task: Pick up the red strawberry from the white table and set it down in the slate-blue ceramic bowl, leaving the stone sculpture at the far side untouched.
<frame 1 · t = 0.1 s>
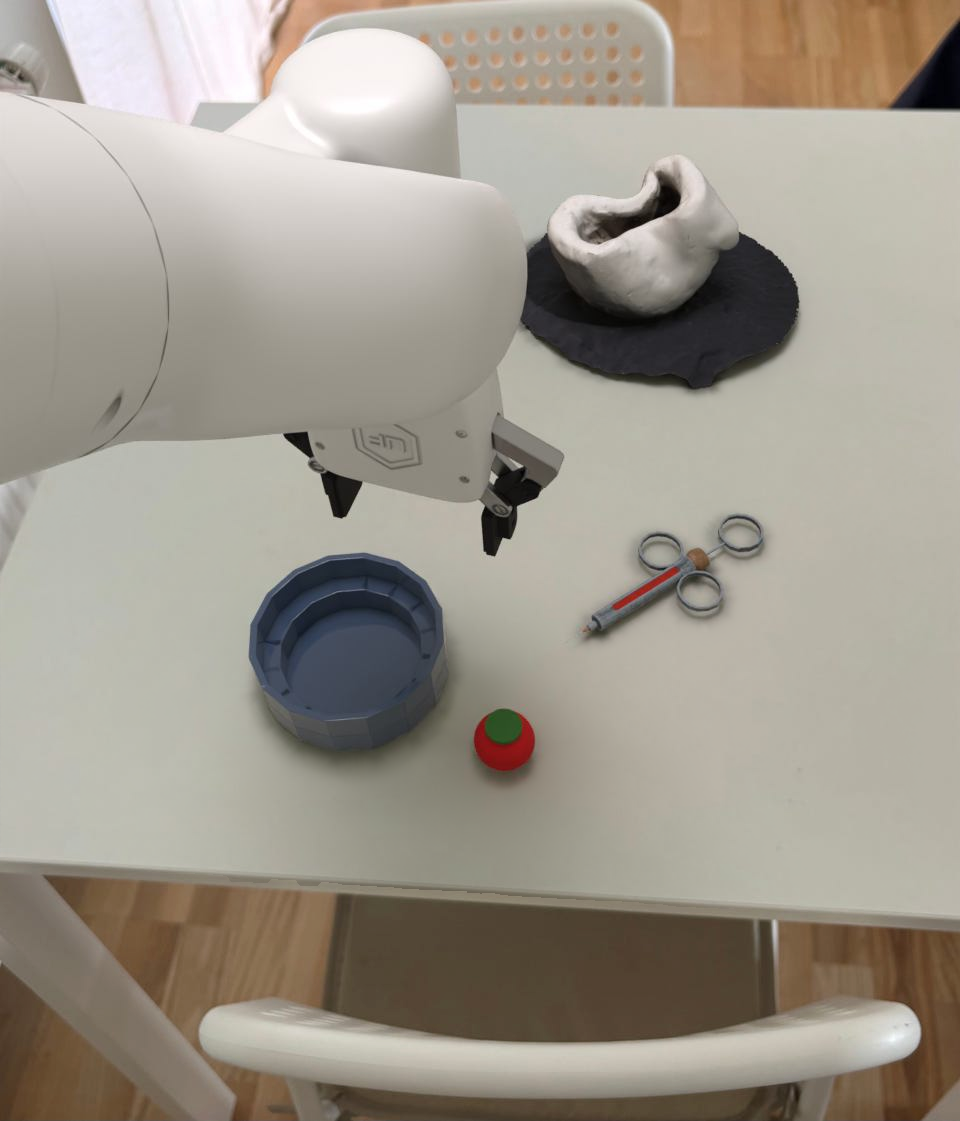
hand: (421, 518, 67), 14 cm above the table, tool pointing down, fingers open, 9 cm apart
syringe: (662, 588, 81), on the table
sculpture: (651, 298, 98), on the table
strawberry: (505, 753, 74), on the table
bowl: (356, 669, 78), on the table
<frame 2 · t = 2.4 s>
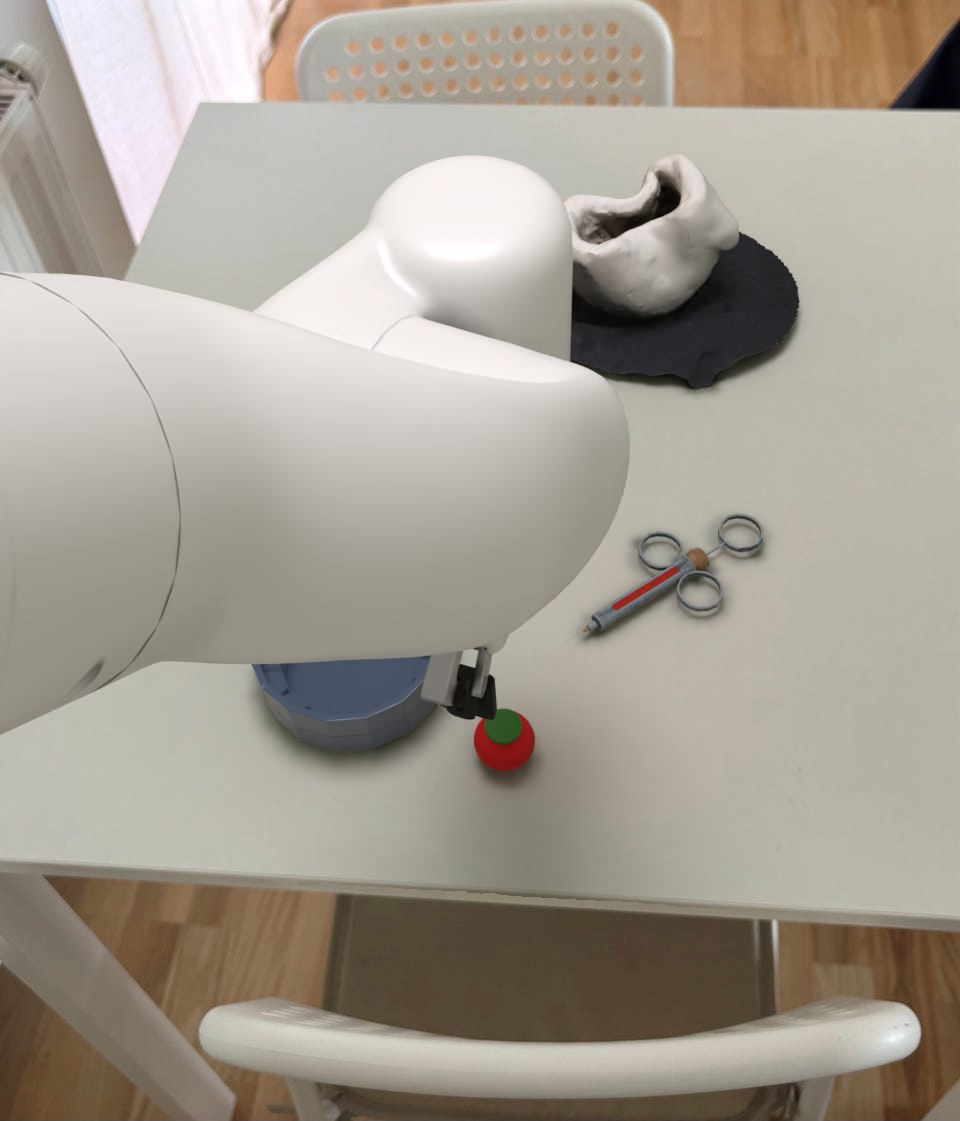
hand: (495, 634, 62), 14 cm above the table, tool pointing down, fingers open, 9 cm apart
nothing on the table moved.
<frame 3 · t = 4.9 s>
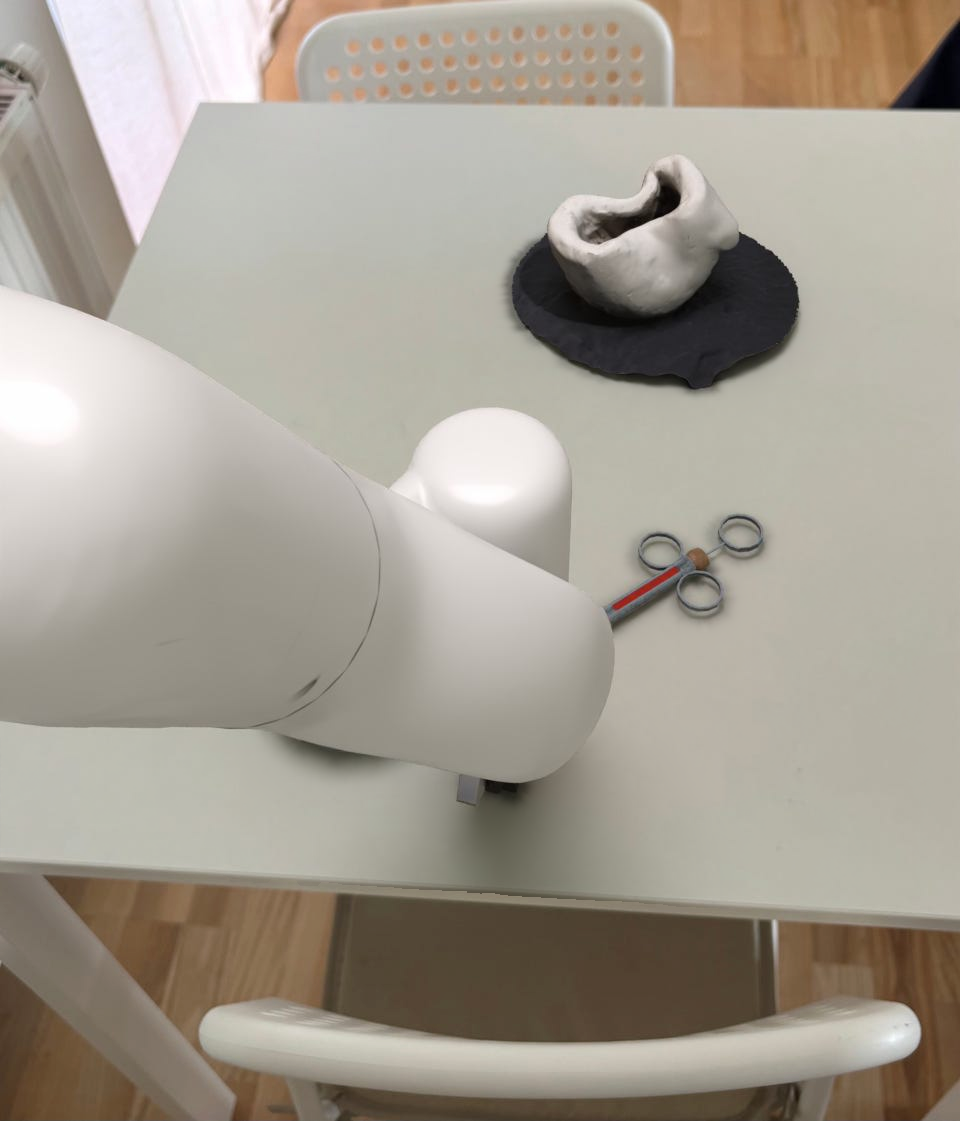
hand: (505, 751, 73), 0 cm above the table, tool pointing down, fingers closed on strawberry, 3 cm apart
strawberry: (505, 753, 74), on the table, touching gripper
everything else where it was.
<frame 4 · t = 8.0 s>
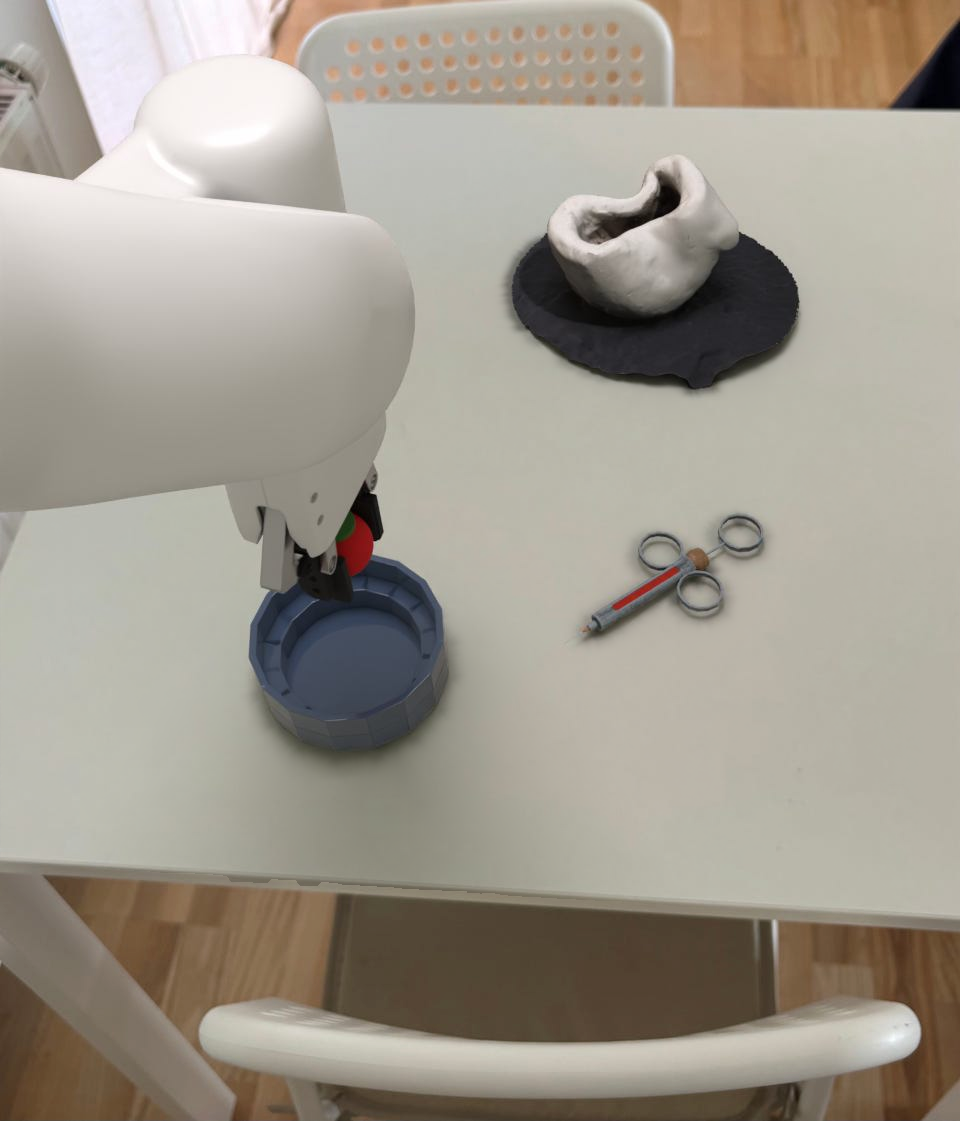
hand: (343, 560, 66), 14 cm above the table, tool pointing down, fingers closed on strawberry, 3 cm apart
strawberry: (344, 563, 66), point 14 cm above the table, touching gripper
everything else where it was.
when the fingers open (1 cm above the table, at t = 12.0 s): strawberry stays where it is, resting on bowl.
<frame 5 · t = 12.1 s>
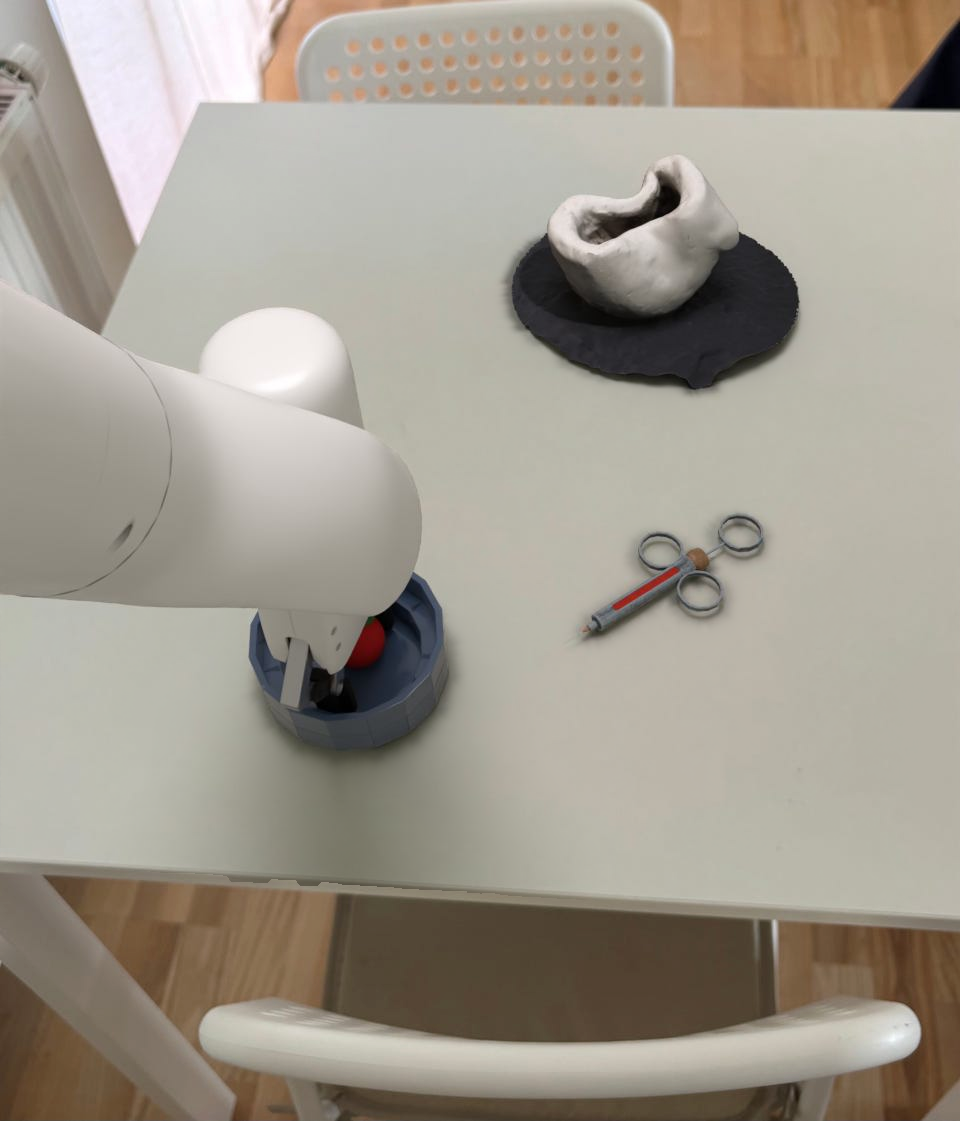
hand: (354, 661, 77), 1 cm above the table, tool pointing down, fingers open, 6 cm apart
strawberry: (355, 662, 77), point 1 cm above the table, tilted 25°, touching bowl
everything else where it was.
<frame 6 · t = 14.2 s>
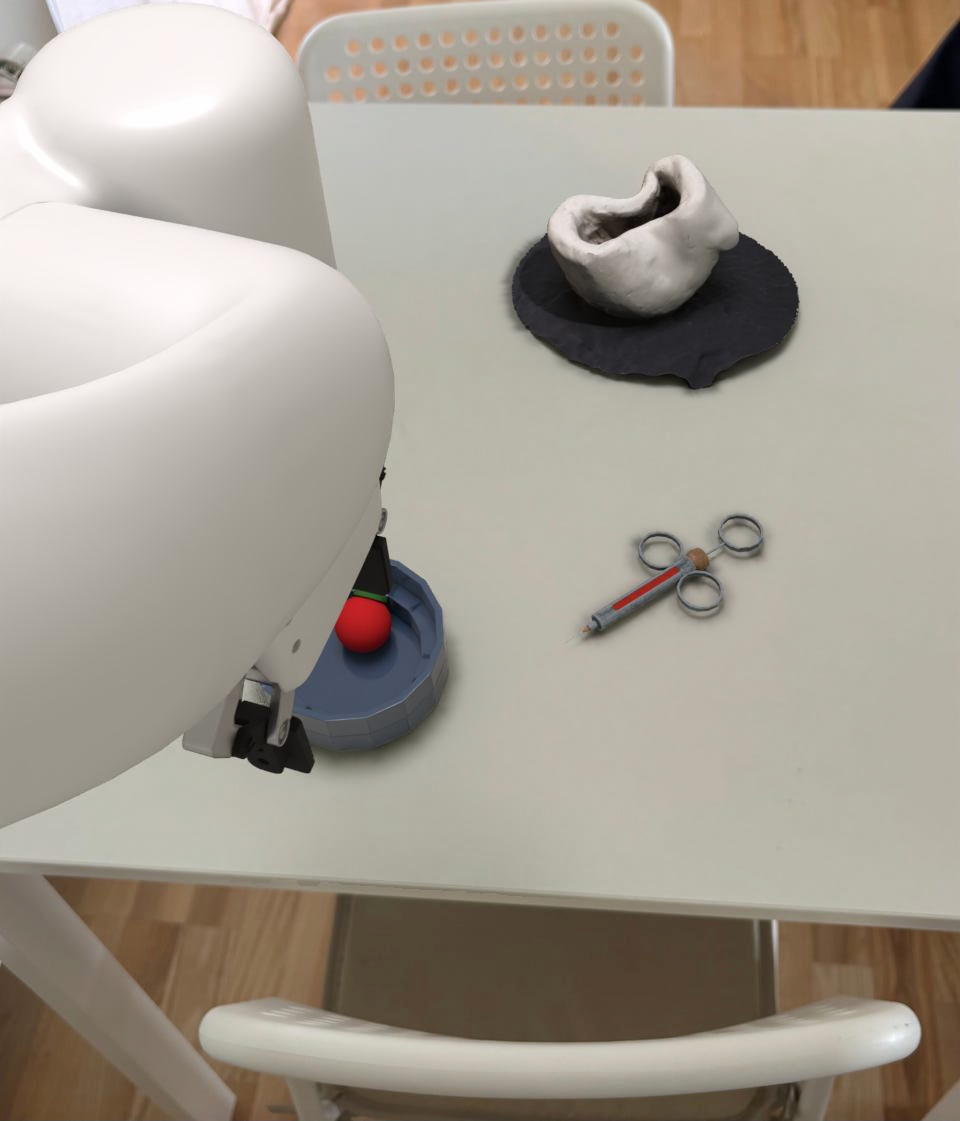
hand: (323, 667, 51), 24 cm above the table, tool pointing down, fingers open, 9 cm apart
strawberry: (355, 651, 77), point 2 cm above the table, tilted 63°, touching bowl
everything else where it was.
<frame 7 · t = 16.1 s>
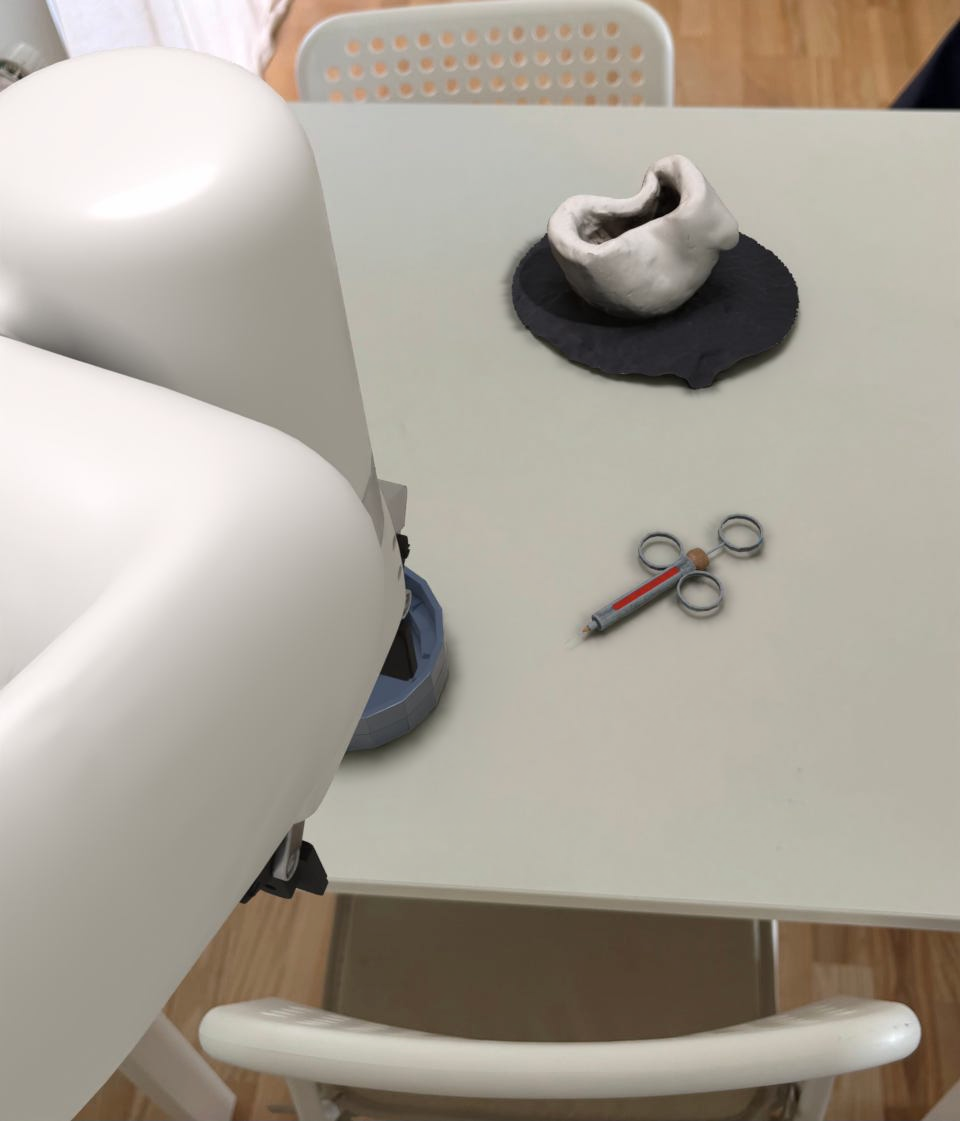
hand: (338, 766, 45), 26 cm above the table, tool pointing down, fingers open, 9 cm apart
nothing on the table moved.
at the end: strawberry inside the target area in the bowl (0.5 cm from its centre), point 1.6 cm above the bowl's base; the gripper is holding nothing; sculpture moved 0.2 cm from its start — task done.
